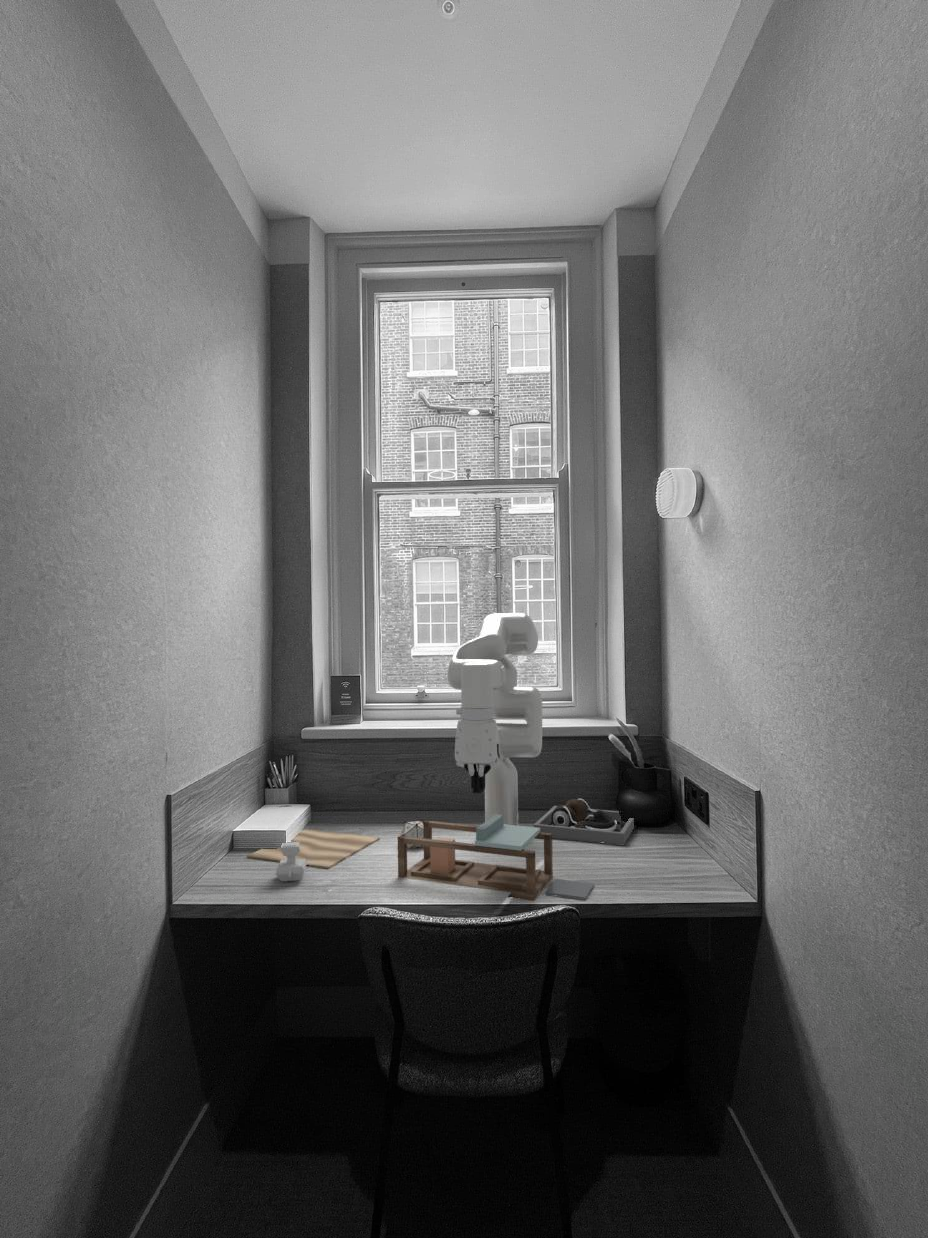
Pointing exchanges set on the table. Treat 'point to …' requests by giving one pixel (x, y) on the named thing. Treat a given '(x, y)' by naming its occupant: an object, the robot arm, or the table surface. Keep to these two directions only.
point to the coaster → (570, 889)
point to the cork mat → (320, 848)
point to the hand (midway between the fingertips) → (478, 792)
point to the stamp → (291, 863)
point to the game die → (413, 831)
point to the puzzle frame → (478, 864)
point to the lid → (504, 834)
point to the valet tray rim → (586, 834)
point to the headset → (582, 816)
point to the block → (442, 858)
